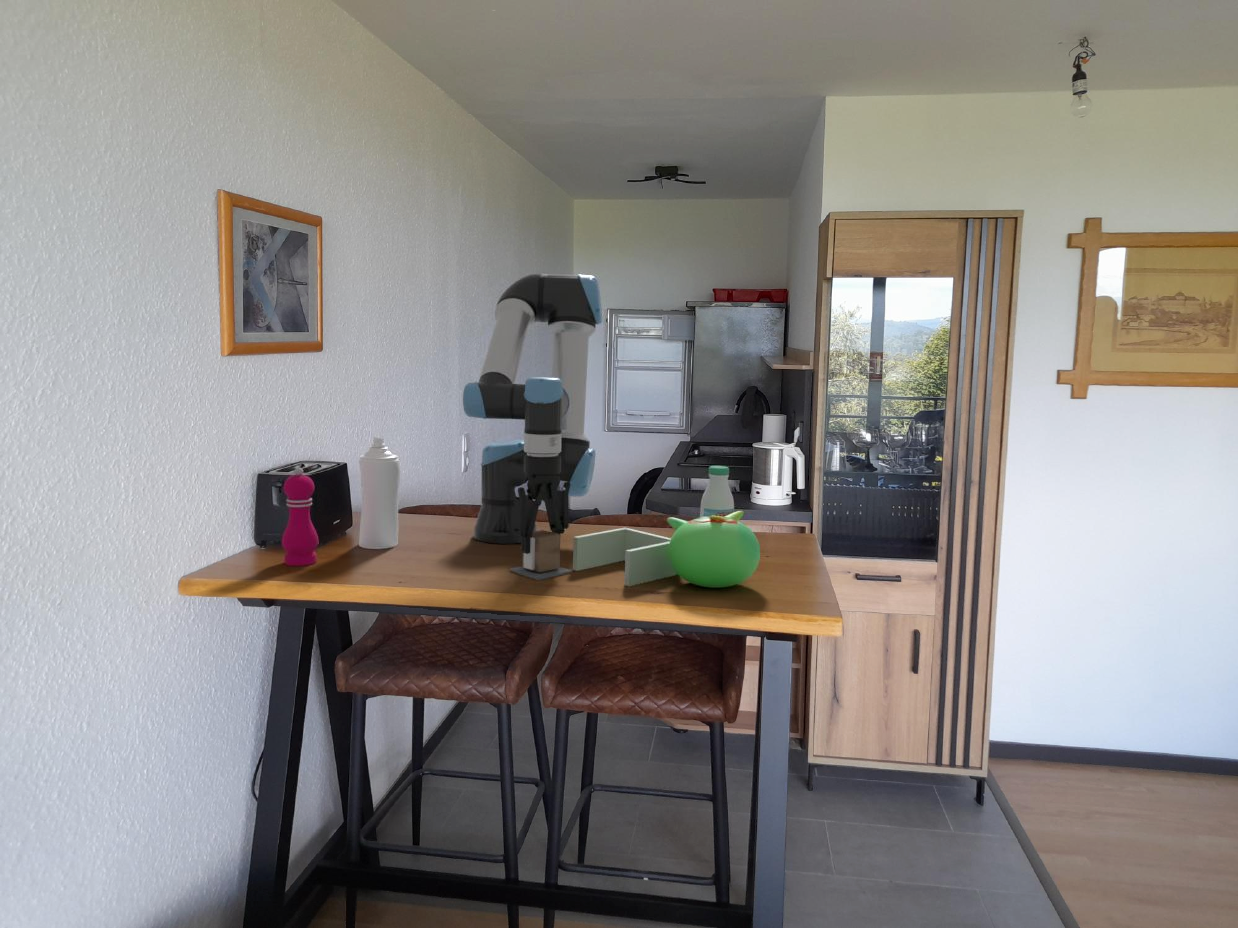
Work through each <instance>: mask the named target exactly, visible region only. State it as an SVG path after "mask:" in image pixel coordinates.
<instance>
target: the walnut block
mask: <svg viewBox="0 0 1238 928" xmlns="http://www.w3.org/2000/svg"><path fill="white" fill-rule="evenodd" d="M532 537H533V538H535V569H534V570H533V571H536V572H543V571H548V570H553V569H557V568H560V567H561V538H560V534H556V533H552V531H548V530H543V529H542V530H537V531H535V532H533V534H532ZM523 562H524V553H522V552H521V566H522V567H523Z"/></svg>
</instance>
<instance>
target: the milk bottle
mask: <svg viewBox="0 0 1238 928" xmlns="http://www.w3.org/2000/svg"><path fill="white" fill-rule="evenodd" d="M729 474H730V468H729V467H728V466H726V465H724V466H723V465H711V466H709V467H708V477H709V480H708V483H707V486H706V488H705V490H704V492H703V494H702V497H701V501H700V510H699V517H704V516H708V517H710V516H722V517H725V516H727V515H729V514H731V513H734V512H735V503H734V502H735V501H734V496H733V494H732V491H731V489H730V485H729V481H728V480H729V477H730V475H729Z"/></svg>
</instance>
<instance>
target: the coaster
mask: <svg viewBox="0 0 1238 928" xmlns="http://www.w3.org/2000/svg"><path fill="white" fill-rule="evenodd" d="M572 570H573V569H568V568H566V567H561V566H560V568H557V569H553V570H548V571H543V572H536V571H533V570H530V569H527V568H524V567H522V565H521V566H516V567H512V568H509V571H510V572H511V573H514V574H518V575H521V576H524V577H527V578H530V579H533V580H536V581H540V580H544V579H549V578H554V577H558V576H563V575H567V574H572V572H573V571H572Z"/></svg>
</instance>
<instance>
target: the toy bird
mask: <svg viewBox="0 0 1238 928" xmlns="http://www.w3.org/2000/svg"><path fill="white" fill-rule="evenodd" d="M743 515H744V511H743V510H737V511H734V513H731V514H729V515H727V516H725V517H722V516H710V517H708V516H704V517H700V516H699V517H697V518H694V519H691V520H686V519H685V520H684V519H680V518H677V517H671V516H669V517H667V519H666V521H667V523H668V524H669V525H670V526H671V527H672V529H674V530H675V531H674V533H673V534H672V536H671V537H670V538H671V540H670V543H669V559H670V562H671V565H672V567H673V569H674V570H675V572H676V573H677V575H678V576H679V577H680V578H681V579H683V580H684V581H685V582H686V581H687V583H689V584H693V585H696V586H699V587H703V588H704V587H705V588H710V589H711V588H712V589H713V588H714V589H717V588H719V589H720V588H728V587H732V586H735V585H738V584H741V583H742V582H745V581H747V580H748V578H750V577H751V576H752V575H753V574H754V573H755V571H756V569H758V566H759V563H760V559H761V546H760V543H759V539H758V538H757V535H756V534H755V533H754V532H753V531H752V529H751V528H750V527H748V526H747V525H746V524H744V523H742V522H740V519H741V518H742V517H743Z"/></svg>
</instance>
